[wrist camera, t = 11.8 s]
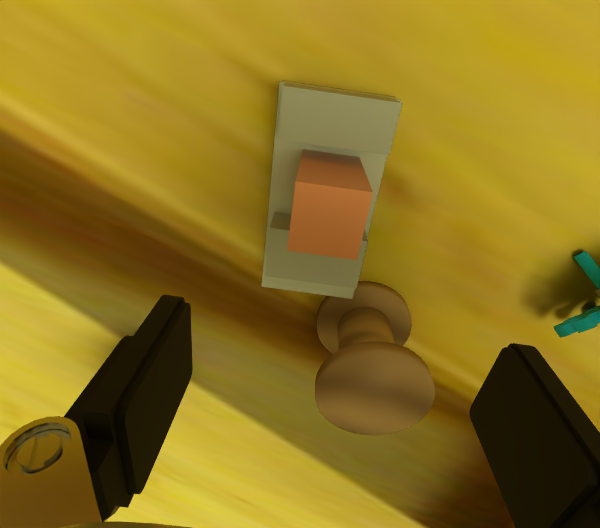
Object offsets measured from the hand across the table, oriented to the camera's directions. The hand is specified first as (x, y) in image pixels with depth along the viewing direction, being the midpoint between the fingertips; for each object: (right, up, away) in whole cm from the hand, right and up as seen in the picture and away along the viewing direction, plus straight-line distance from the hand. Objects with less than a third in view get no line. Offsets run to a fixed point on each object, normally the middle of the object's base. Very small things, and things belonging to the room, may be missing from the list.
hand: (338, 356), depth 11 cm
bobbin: (+5, -3, +25) cm, 25 cm away
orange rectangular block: (+1, +9, +15) cm, 18 cm away
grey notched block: (+1, +8, +19) cm, 20 cm away
